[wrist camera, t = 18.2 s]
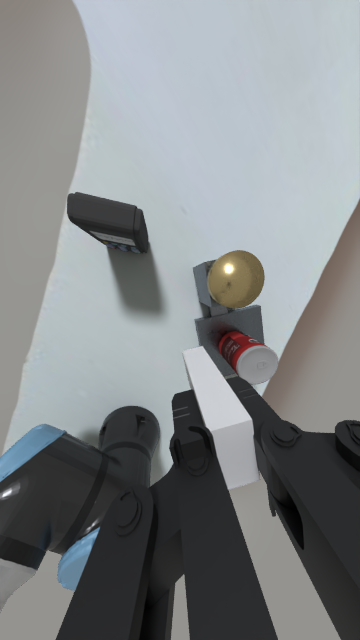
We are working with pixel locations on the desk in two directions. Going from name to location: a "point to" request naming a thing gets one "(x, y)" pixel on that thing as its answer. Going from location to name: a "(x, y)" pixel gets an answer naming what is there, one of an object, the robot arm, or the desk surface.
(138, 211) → the card reader
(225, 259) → the door knob
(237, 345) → the canned food
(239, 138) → the desk surface
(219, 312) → the grey stepped stand
